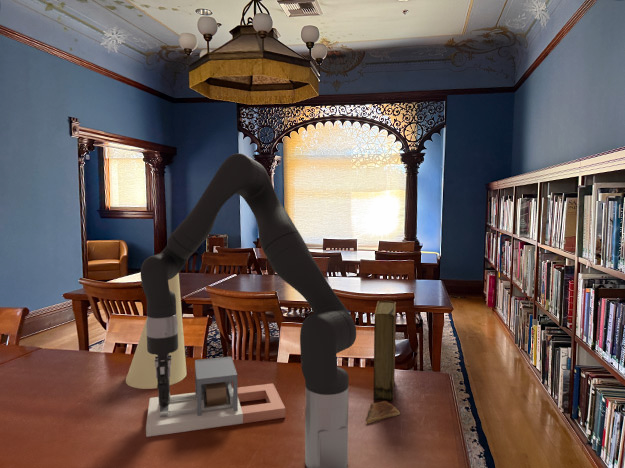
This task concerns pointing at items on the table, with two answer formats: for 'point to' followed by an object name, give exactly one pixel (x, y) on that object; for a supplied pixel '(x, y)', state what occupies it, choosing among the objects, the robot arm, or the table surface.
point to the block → (215, 393)
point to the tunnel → (215, 377)
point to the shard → (381, 411)
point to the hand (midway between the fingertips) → (164, 396)
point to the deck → (215, 412)
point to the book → (384, 350)
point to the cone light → (144, 362)
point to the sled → (165, 405)
